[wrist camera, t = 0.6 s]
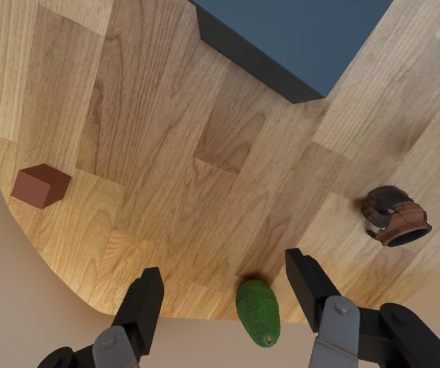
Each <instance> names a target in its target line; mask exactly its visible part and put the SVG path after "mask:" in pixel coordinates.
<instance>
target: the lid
mask: <svg viewBox="0 0 440 368" xmlns="http://www.w3.org/2000/svg"><path fill="white" fill-rule="evenodd" d="M188 1H189V2H190V3H192V4H193V5H195V6H196V7H197V8H199V9H200V10H201V11H203V12H204V13H206V14H207V15H208V16H210V17H211V18H212V19H214V20H215V21H217V22H218V23H219V24H221V25H222V26H223V27H225V28H226V29H227V30H229V31H230V32H232V33H233V34H234V35H236V36H237V37H238V38H240V39H241V40H243V41H244V42H245V43H247V44H248V45H249V46H251V47H252V48H254V49H255V50H256V51H258V52H259V53H260V54H262V55H263V56H264V57H266V58H267V59H269V60H270V61H271V62H273V63H274V64H275V65H277V66H278V67H280V68H281V69H282V70H284V71H285V72H286V73H288V74H289V75H291V76H292V77H293V78H295V79H296V80H297V81H299V82H300V83H302V84H303V85H304V86H306V87H307V88H308V89H310V90H311V91H312V92H314V93H315V94H317V95H318V96H319V97H321V98H322V99H323V98H326V97H327V96H328V94H329V93H330V91H331V90H332V88H333V87H334V85H335V84H336V83H337V81H338V80H339V78H340V77H341V75H342V74H343V72H344V71H345V70H346V68H347V67H348V65H349V64H350V62H351V61H352V60H353V58H354V57H355V55H356V54H357V52H358V51H359V49H360V48H361V47H362V45H363V44H364V42H365V41H366V39H367V38H368V36H369V35H370V34H371V32H372V31H373V29H374V28H375V26H376V25H377V24H378V22H379V21H380V19H381V18H382V16H383V15H384V13H385V12H386V11H387V9H388V8H389V6H390V5H391V3H392V2H393V0H188Z"/></svg>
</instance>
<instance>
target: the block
mask: <svg viewBox="0 0 440 368" xmlns="http://www.w3.org/2000/svg"><path fill="white" fill-rule="evenodd" d="M70 178H71V177H70V176H68V175H66V174H64V173H62V172H60V171H58V170H56V169H54V168H52V167H50V166H48V165H46V164H41V165H37V166H33V167H30V168H26V169H22V170H19V172H18V175H17V178H16V181H15V184H14V188H13V191H12V194H11V196H13V197H15V198H17V199H19V200H22V201H24V202H26V203H28V204H30V205H33V206H35V207H37V208H39V209H44V208H45V207H47V206H49V205H51V204H53V203H55V202H57V201H59V200H61V199H62V198H63V196H64V193H65V191H66V188H67V186H68V183H69V181H70Z"/></svg>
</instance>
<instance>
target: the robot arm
mask: <svg viewBox="0 0 440 368" xmlns="http://www.w3.org/2000/svg"><path fill="white" fill-rule="evenodd" d="M285 261H286V274H287V277H288V280H289V282H290V284H291V286H292V289H293V291H294V293H295V295H296V297H297V299H298V301H299V303H300V306H301V308H302V310H303V312H304V314H305V316H306V318H307V320H308V323H309V324H310V327H311V329H312V331H313V333H316V332H319V333H318V336H317V337H316V338H315V342H314V346H313V350H312V355H311V359H310V363H309V367H308V368H358V359H360V360H365V361H369V362H374V363H378V365H379V366H380V368H440V339H439V338H438V337H437V336H436V335H435V334H434V333H433V332H432V331H431V330H430V329H429V328H428V327H427V326H426V325H425V323H424V322H422V320H421V319H419V317H418V316H417V315H416V314H414V312H412V311H411V310H409V309H408V308H406V307H404V306H402V305H399V304H395V303H385V304H383V305H382V306H381V307H380V310H373V309H367V308H361V307H358V306H356V304H355V303H354V302H352V301H351V300H350V299H348V298H346V297H343V296H342V295H341V294H340V293H339V291H338V290H337V288H336V287H335V286H334V284H333V283H332V281H331V280H330V279H329V277H328V276H327V275H326V274H325V272H324V270H323V269H322V268H321V266H320V265H319V264H318V262H317V261H316V260H315V259H314V258H312V257H311V256H309V255H306V256H303V254H302V253H301V251H300V250H299V248H292V249H286V250H285ZM163 297H164V285H163V282H162V278H161V275H160V271H159V268H158V267H152V268H145V269H144V271H143V273H142V276H141V278H137V279H136V280H135V281H134V282H133V283H132V284H131V285H130V287H129V289H128V291H127V293H126V295H125V297H124V299H123V302H122V304H121V306H120V308H119V310H118V312H117V314H116V317H115V319H114V321H113V323H112V325H111V327H110V328H108V329H106V330H105V331H103V332H102V333H101V334H100V335H99V336H98V338H97V339H96V340H95V342H94V344H92V345H90V346H88V347H86V348H83V349H81V350H79V351H76V352H73V351H72V349H71V348H70V347H62V348H59V349H57V350H55V351H54V352H52V353H51V354H49V355H48V356H47V357H46V358H45V359H44V360H43V361H42V362H41V363H40V364H39V366H38V367H37V368H140V367H139V361H140V358H141V356H143V355H149V352H150V348H151V344H152V340H153V336H154V332H155V328H156V325H157V321H158V317H159V313H160V309H161V305H162V301H163Z"/></svg>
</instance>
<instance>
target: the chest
mask: <svg viewBox="0 0 440 368" xmlns="http://www.w3.org/2000/svg"><path fill="white" fill-rule="evenodd" d="M196 12H197V18H198V24H199V31H200V37H201V39H202V40H203V41H204V42H206V43H207V44H209V45H210V46H212V47H213V48H214V49H216V50H217V51H219V52H220V53H222V54H223V55H224V56H226V57H227V58H229V59H230V60H232V61H233V62H234V63H236V64H237V65H239V66H240V67H242V68H243V69H244V70H246V71H247V72H249V73H250V74H252V75H253V76H254V77H256V78H257V79H259V80H260V81H262V82H263V83H264V84H266V85H267V86H269V87H270V88H272V89H273V90H274V91H276V92H277V93H279V94H280V95H282V96H283V97H284V98H286V99H287V100H289V101H290V102H292V103H293V104H295V103H300V102H306V101H311V100H317V99H322V98H321V97H319V96H318V95H317V94H315V93H314V92H312V91H311V90H310V89H308V88H307V87H306V86H304V85H303V84H302V83H300V82H299V81H297V80H296V79H295V78H293V77H292V76H291V75H289V74H288V73H286V72H285V71H284V70H282V69H281V68H280V67H278V66H277V65H275V64H274V63H273V62H271V61H270V60H269V59H267V58H266V57H264V56H263V55H262V54H260V53H259V52H258V51H256V50H255V49H254V48H252V47H251V46H249V45H248V44H247V43H245V42H244V41H243V40H241V39H240V38H238V37H237V36H236V35H234V34H233V33H232V32H230V31H229V30H227V29H226V28H225V27H223V26H222V25H221V24H219V23H218V22H217V21H215V20H214V19H212V18H211V17H210V16H208V15H207V14H206V13H204V12H203V11H201V10H200V9H199V8H197V7H196Z"/></svg>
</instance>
